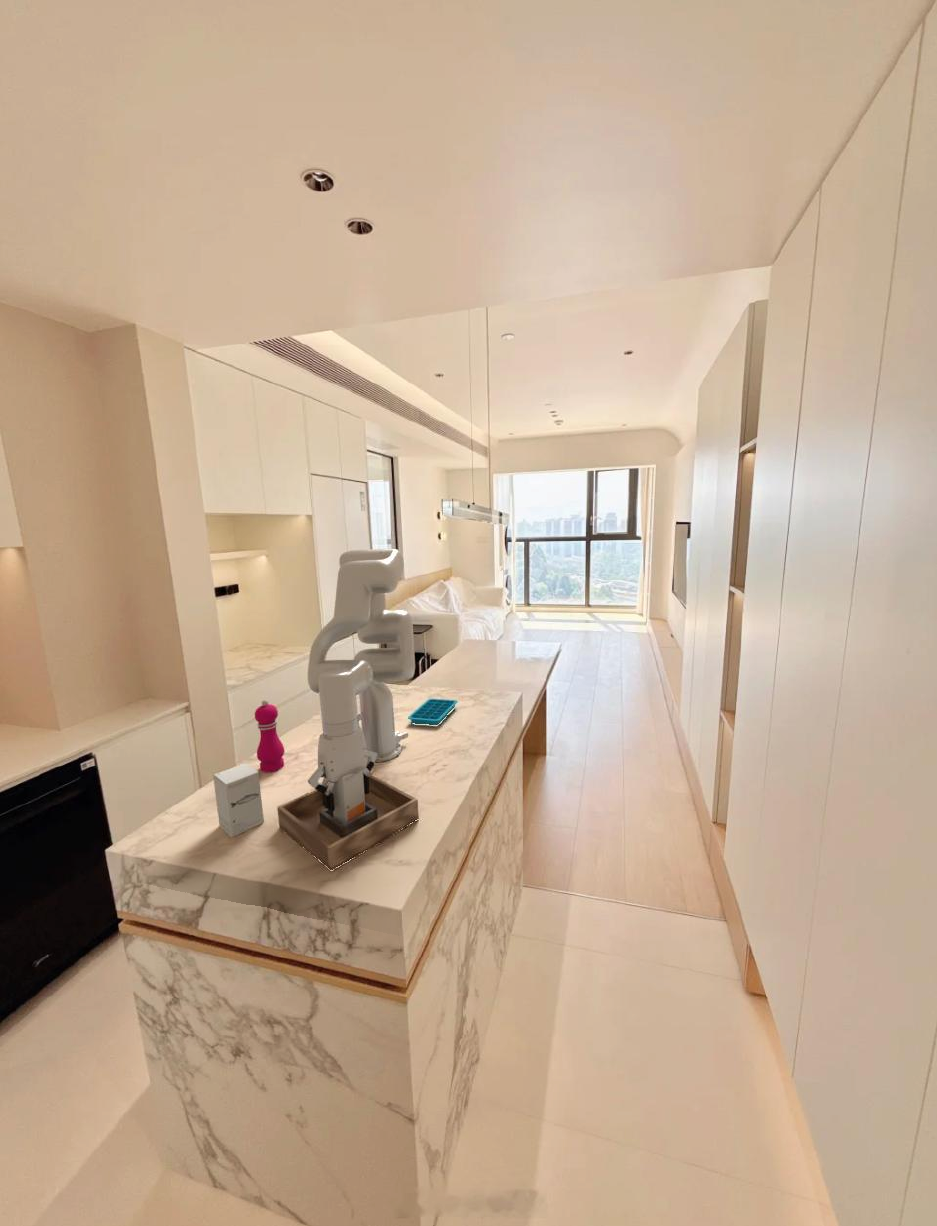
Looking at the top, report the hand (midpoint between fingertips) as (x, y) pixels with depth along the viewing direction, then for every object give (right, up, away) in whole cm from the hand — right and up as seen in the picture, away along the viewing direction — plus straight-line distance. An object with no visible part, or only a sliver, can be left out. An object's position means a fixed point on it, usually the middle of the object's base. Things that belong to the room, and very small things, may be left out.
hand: (347, 799), depth 106 cm
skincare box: (+1, -5, +1) cm, 5 cm away
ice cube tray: (+15, +4, +63) cm, 65 cm away
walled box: (0, -6, +1) cm, 6 cm away
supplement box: (-25, -7, +2) cm, 26 cm away
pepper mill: (-29, -3, +30) cm, 41 cm away
